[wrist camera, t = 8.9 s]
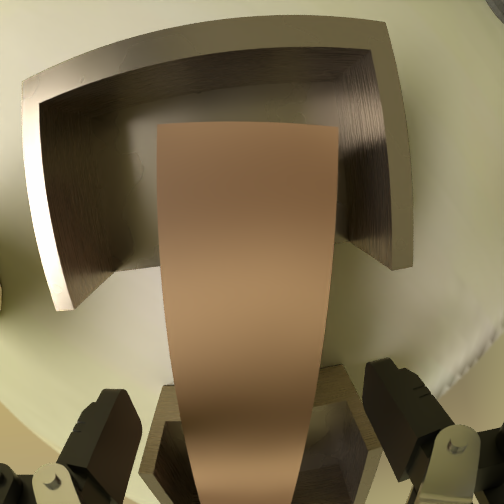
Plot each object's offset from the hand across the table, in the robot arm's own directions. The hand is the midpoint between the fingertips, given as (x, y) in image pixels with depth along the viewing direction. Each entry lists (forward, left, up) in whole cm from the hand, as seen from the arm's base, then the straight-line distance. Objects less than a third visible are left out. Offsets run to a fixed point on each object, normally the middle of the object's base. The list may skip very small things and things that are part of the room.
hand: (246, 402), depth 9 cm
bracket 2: (+8, 0, -6) cm, 10 cm away
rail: (0, 0, -3) cm, 3 cm away
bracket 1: (-8, 0, -6) cm, 10 cm away
